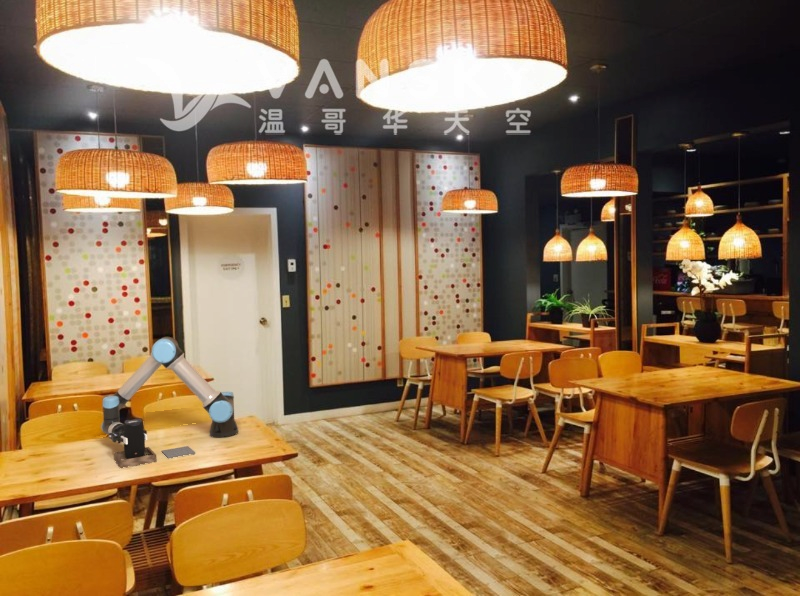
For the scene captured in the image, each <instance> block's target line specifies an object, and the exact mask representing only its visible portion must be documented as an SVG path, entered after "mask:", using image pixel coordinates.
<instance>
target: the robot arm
mask: <svg viewBox="0 0 800 596" xmlns="http://www.w3.org/2000/svg"><path fill="white" fill-rule="evenodd" d="M161 366H162V367H164V368H165V369H166V370H171V371H172V372H173V373H174V374H175V375H176V377H177V378H179V380H180V381H182V383H183V384H184V385H186V387H187V388H188V389H189V390H190V391H191V392H192V393H193V394H194V395H195V396H196V397H197V398H198V399H199V401H201V403H202V408H203V409H204V410H205V411H206V412H207V414H208V415H209V418H210V419H211V424H210V428H209V430H208V431H209V434H208V435H209V436H210V437H212V436H213V437H212V438H225V437H224V436H228V437H231V436H230V435H233V436H235V435H234V434H236V433H237V434H239V428H238V425H237V421H236V420H235V404H234V399H235V396H234V392H232V391H219V390H215V389H214V388H213V387H212V385H211V384H210V383H209V382H208V381H207V380H206V379H205V378H204V377H203V376H202V375H201V374H200V373H199V372H198V371H197V370H196V369H195V367H193V366H192V364H190V362H189V361H188V360H187V359H186V358H185V352H183V350H182V349H181V348H180V347H179V343H178V341H177V340H176V339H175V338H173V337H172V336H171V337H170V336H164V337H161V338H160V339H158V340H157V341H155V343H154V344H153V345H152V347H151V351H150V355H149V356H148V357H147V359H145V361H144V362H143V363H142V364H141V365H140V366H139V368H137V369H136V371H134V373H132V375H131V376H130V377H129V378H128V379H127V380H126V381H125V382H124V384H122V385H121V386H120V387H119V389H118V390H117V391H116V392H115V393H114V394H113V395H108V396H105V397H104V398H103V399H102V414H103V415H102V416H103V421H102V423H101V426H100V428H101V431H102V432H104V434H106V435H108V438H109V439H110V440H111V441H112V442H113V443H117V444H121V443H122V444H123V445H124V444H128V438H125V437H124V436H123V433H124V425H125V424H124V423H122V422H121V421H120V420H121V419H120V417H121V416H120V410H121V409H123V408H124V407H125V405H126V404H127V403H128V402H129V401H130V400H131V398H133V396H134V395H135V394H136V393H137V392H138V390H139V389H141V388H142V387H143V385H145V384H146V382H147V381H148V380H149V379H150V378H151V377H152V376H153V375H154V374H155V372H156V371H157V370H158V369H159V368H161ZM237 434H236V435H237ZM144 438H145V441H148V432H147V430H146V429H144Z"/></svg>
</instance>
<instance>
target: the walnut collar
mask: <svg viewBox="0 0 800 596" xmlns="http://www.w3.org/2000/svg"><path fill="white" fill-rule="evenodd" d="M146 454H148V455H146ZM124 458H126V457H125V451H124V450H122V451H118V452H117V451H116V452H113V461H114V460H115V461H116V462H115V461H114V462H115V463H116V465H117V464H118V465H117V466H118V467H120V468H121V469H124V468H123V467H126V468H129V467H128V466H132V467H136V466H135V465H137V466H141V465H140V464H143V465H146V464H145V463H148V464H152V462H154V463H157V461H158V458H157V454H156V453H155V451H153V450H152V448H151V447H149V446H145V453H144V456H143V457H137V458H131V459H124ZM120 468H119V469H120Z"/></svg>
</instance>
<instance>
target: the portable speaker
mask: <svg viewBox="0 0 800 596" xmlns="http://www.w3.org/2000/svg"><path fill="white" fill-rule="evenodd" d="M123 424H124V433H123V436H124V437H125V438H128V444H124V443H123V449H124V450H123V451H125V457H126V459H131V458H137V457H143V456H145V455H144V453H145V447H146V444H145V443H146V440H145V438H144V430H145V429H144V424H143V420H142V418H135V419H134V418H133V419H125V420H124V423H123ZM126 459H125V460H126Z"/></svg>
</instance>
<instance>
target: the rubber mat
mask: <svg viewBox="0 0 800 596" xmlns="http://www.w3.org/2000/svg"><path fill="white" fill-rule="evenodd" d="M161 452H162V453H163V454H164V455H165V456H166V457H167V458H171V459H174V458H173V457H177V458H179V457H178V456H182V457H184V456H183V455H188V456H190V455H189V454H193V455H196V451H195V450H193V449H192V448H191V447H190V446H189V445H188V446H187V445H186V446H181V447H175V448H170V449H163V450H161ZM162 453H161V454H162ZM163 454H162V455H163ZM164 455H163V456H164ZM165 456H164V457H165ZM166 457H165V458H166ZM167 458H166V459H167Z"/></svg>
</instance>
